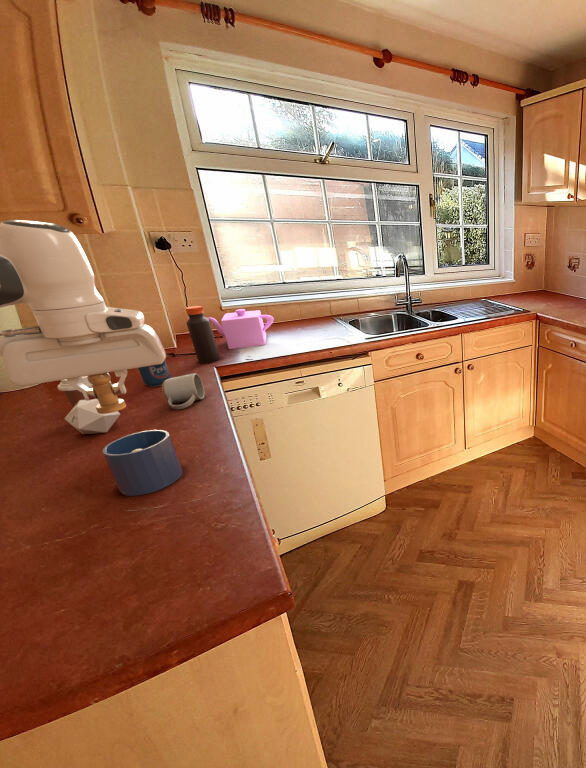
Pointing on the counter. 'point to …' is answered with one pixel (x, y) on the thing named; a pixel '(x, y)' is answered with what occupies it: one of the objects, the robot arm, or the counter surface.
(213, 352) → the bottle
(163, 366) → the soda can
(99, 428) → the die
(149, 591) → the counter surface
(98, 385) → the maple pawn
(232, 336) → the teapot
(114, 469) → the cup
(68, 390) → the coffee cup
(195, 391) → the ceramic mug
